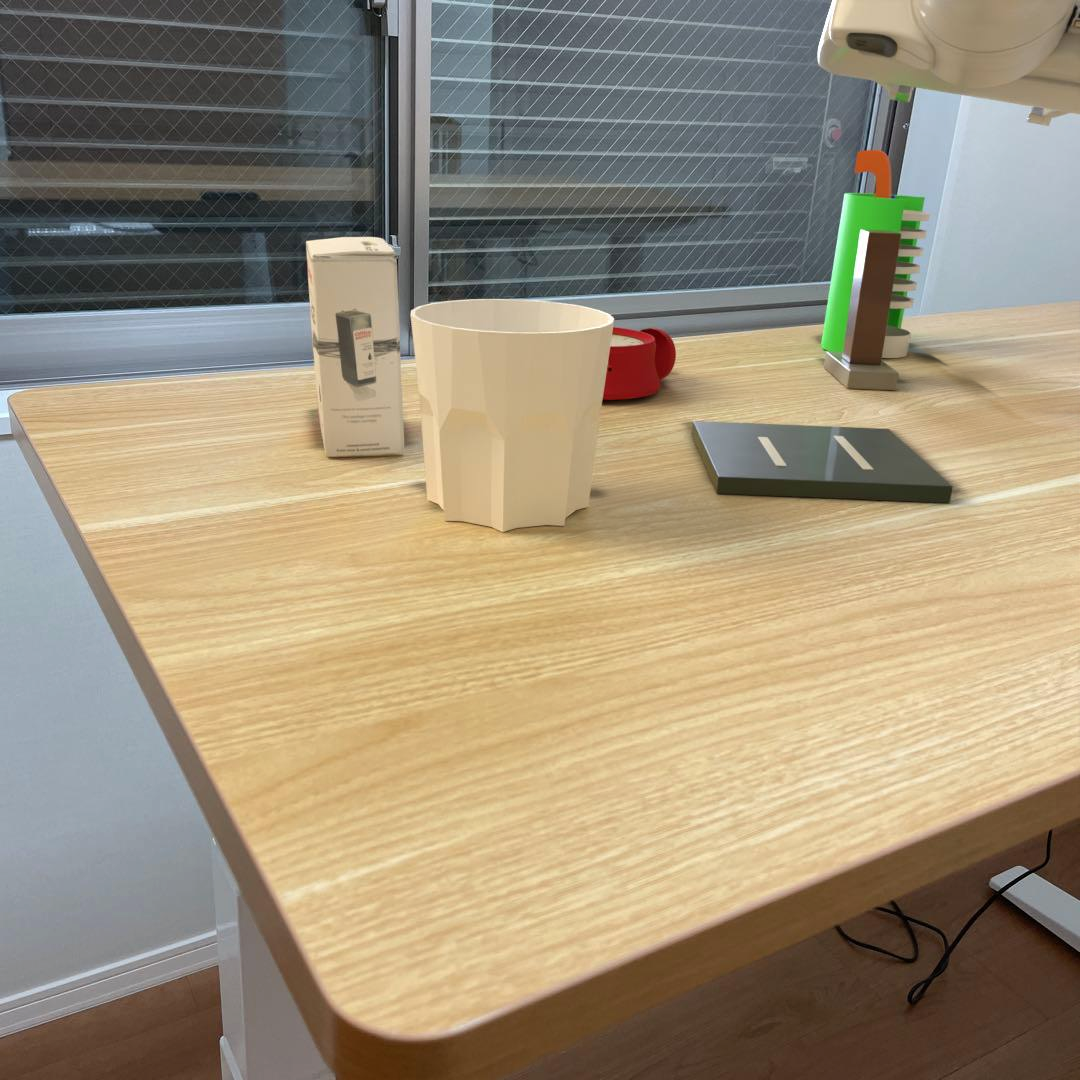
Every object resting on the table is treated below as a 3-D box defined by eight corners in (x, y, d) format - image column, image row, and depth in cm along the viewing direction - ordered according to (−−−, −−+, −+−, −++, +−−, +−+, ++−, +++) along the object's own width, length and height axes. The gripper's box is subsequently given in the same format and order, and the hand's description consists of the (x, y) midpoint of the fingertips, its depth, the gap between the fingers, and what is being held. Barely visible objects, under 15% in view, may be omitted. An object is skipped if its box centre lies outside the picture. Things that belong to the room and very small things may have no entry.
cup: (375, 515, 52) (370, 318, 49) (468, 464, 61) (470, 293, 57) (556, 551, 48) (566, 341, 45) (628, 491, 57) (641, 311, 53)
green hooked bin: (909, 363, 94) (945, 153, 87) (819, 355, 96) (847, 149, 89) (905, 345, 102) (937, 152, 96) (821, 338, 104) (848, 148, 98)
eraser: (823, 367, 91) (843, 226, 86) (868, 369, 91) (890, 228, 86) (846, 388, 83) (869, 234, 79) (896, 390, 83) (921, 236, 79)
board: (886, 443, 68) (889, 428, 68) (950, 503, 57) (953, 485, 57) (691, 435, 68) (692, 420, 68) (716, 493, 57) (718, 476, 57)
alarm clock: (496, 346, 75) (577, 278, 86) (503, 423, 79) (580, 348, 90) (630, 363, 71) (696, 290, 83) (631, 443, 75) (694, 362, 86)
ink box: (313, 421, 68) (304, 235, 64) (389, 419, 69) (386, 236, 65) (320, 460, 60) (311, 251, 56) (406, 457, 62) (404, 252, 57)
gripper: (1209, -31, 56) (1145, 82, 69) (835, -76, 62) (841, 36, 75) (1170, 83, 56) (1114, 174, 69) (802, 28, 62) (815, 121, 76)
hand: (970, 102), depth 72 cm, fingers open, 8 cm apart
